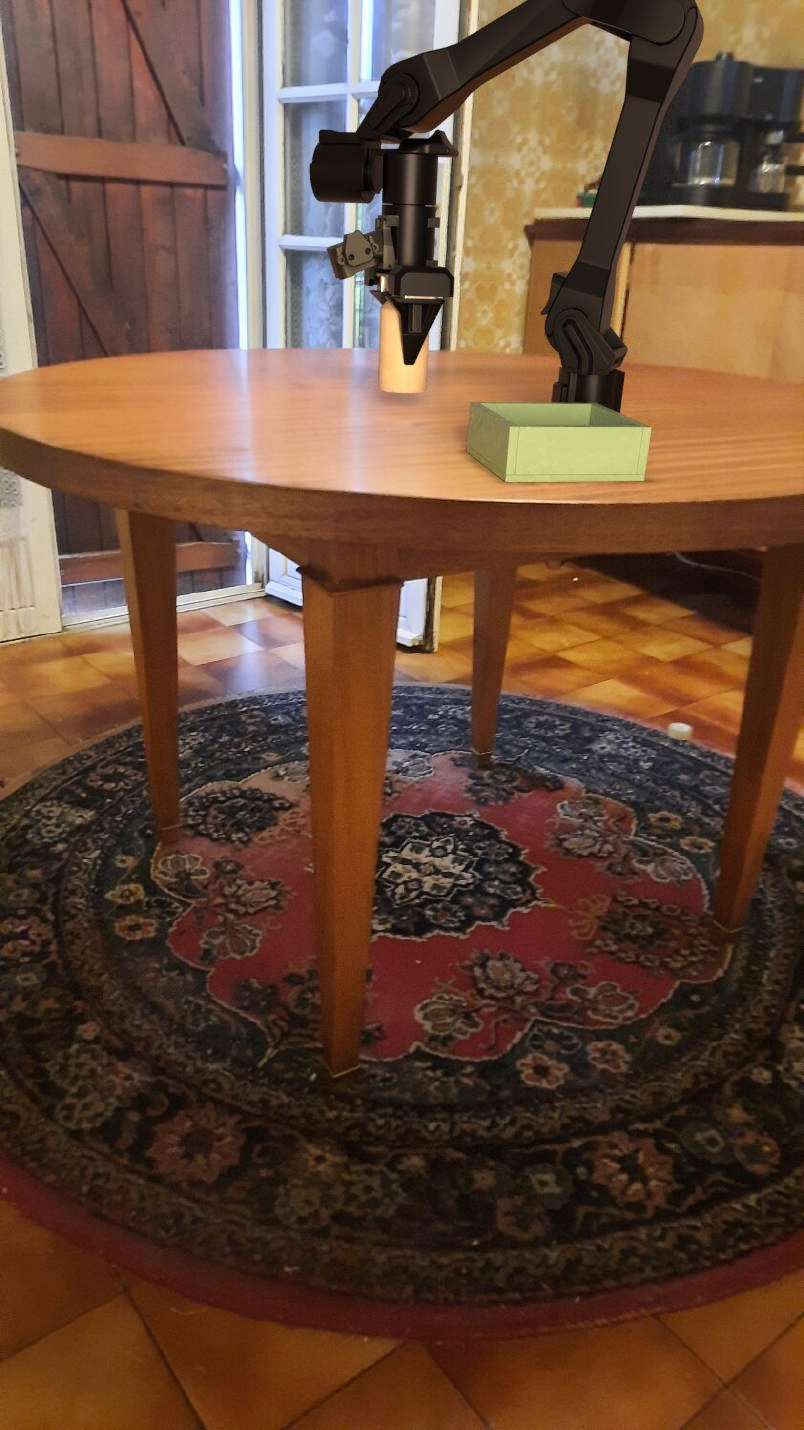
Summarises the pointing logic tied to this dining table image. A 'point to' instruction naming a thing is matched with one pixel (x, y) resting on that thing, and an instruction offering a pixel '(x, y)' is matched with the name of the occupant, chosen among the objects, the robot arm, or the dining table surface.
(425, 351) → the candle
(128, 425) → the dining table surface
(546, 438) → the green open tray
